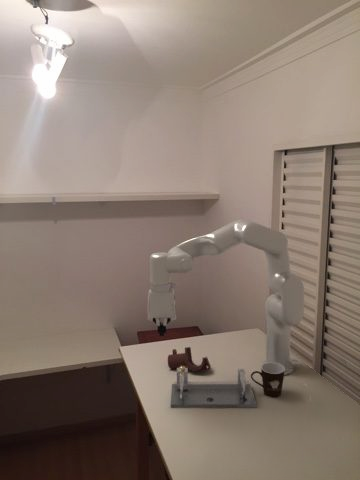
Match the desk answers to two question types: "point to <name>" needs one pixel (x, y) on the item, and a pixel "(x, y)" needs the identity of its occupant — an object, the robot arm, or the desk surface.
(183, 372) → the sliding leg
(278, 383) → the coffee mug
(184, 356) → the bracket
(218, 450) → the desk surface
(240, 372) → the bolt plate and beam
